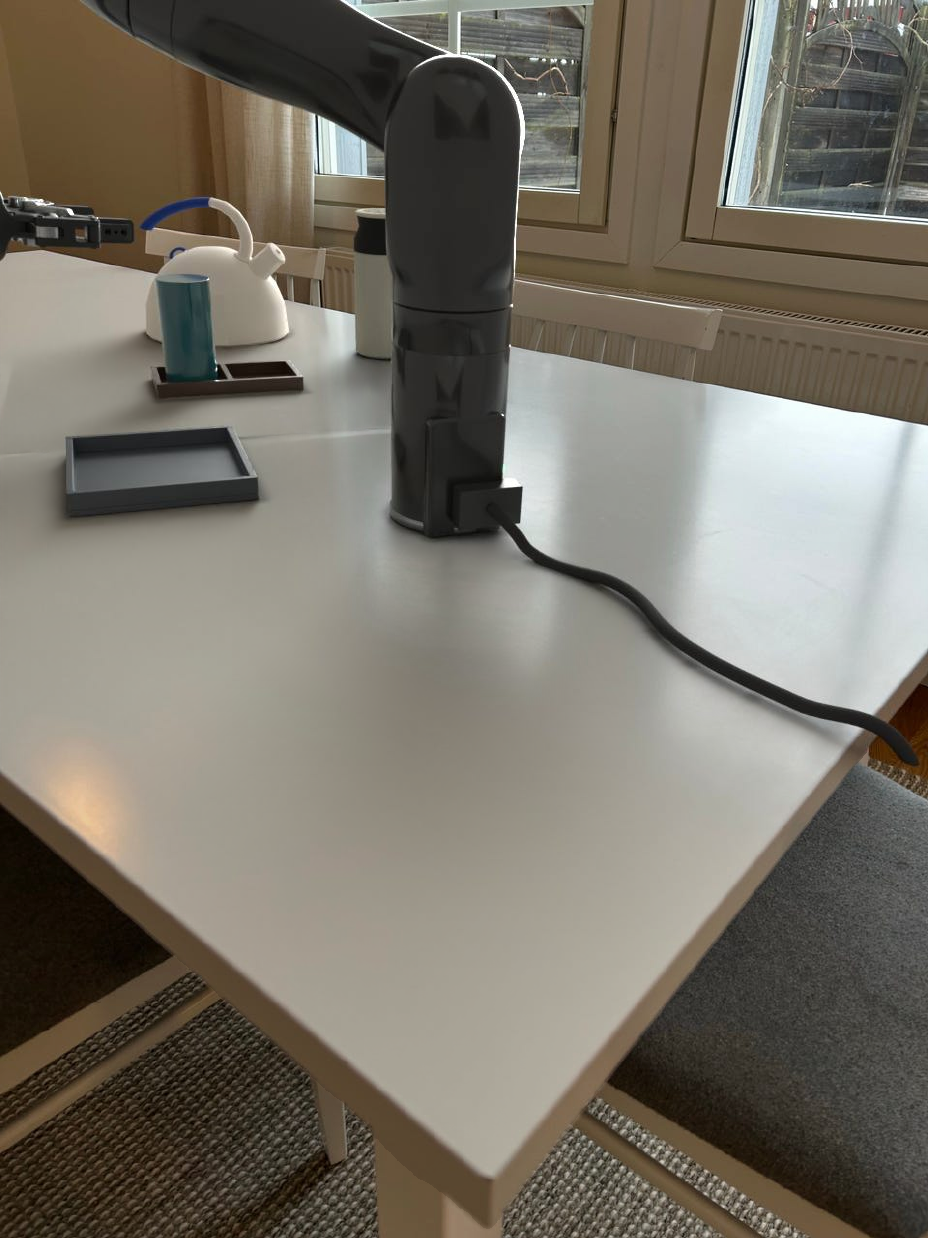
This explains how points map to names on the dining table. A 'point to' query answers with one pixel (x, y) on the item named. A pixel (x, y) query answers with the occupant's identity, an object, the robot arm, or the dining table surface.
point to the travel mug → (372, 285)
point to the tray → (156, 470)
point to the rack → (234, 380)
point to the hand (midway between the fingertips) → (112, 224)
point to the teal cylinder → (186, 327)
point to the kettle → (227, 281)
